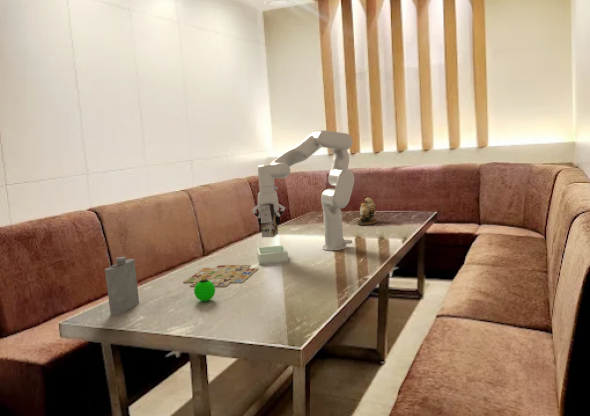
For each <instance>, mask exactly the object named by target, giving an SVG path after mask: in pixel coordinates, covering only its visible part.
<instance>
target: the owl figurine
mask: <svg viewBox="0 0 590 416" xmlns="http://www.w3.org/2000/svg"><path fill="white" fill-rule="evenodd" d="M359 212H360V213H359V214H360V216H359V220H358V222H357V226H360V227H369V226H373V225H376V224H378V220H377V219H376V218H374V217H375V212H376V203H375V202H374V200H373V199H372V198H370V197H366V198H365V199H364V202H363V203H360V207H359Z"/></svg>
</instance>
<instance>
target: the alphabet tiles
mask: <svg viewBox="0 0 590 416" xmlns="http://www.w3.org/2000/svg"><path fill="white" fill-rule="evenodd" d="M258 269H259V268H258V267H251V265H250V264H218V265H216V266H215V267H203V268H201V269H199V270H198V271H196V273H194V274H192V275H190V277H187V278H186V279H185V280H184V281H183V284H189V287H190V288H194V287H195V285H196V284H197V283H198V282H199V281H200V280H202V279H204V278H205V279H207V280H208V281H211V282H212V283H213V285H214V287H215V288H226V287H228V286H229V285H230V284H243V283H245V281H246V280H248V279H249V278H251V276H253V274H255V272H257V271H258ZM202 275H205V277H203V278H202V277H201V276H202Z"/></svg>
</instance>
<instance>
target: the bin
mask: <svg viewBox="0 0 590 416" xmlns="http://www.w3.org/2000/svg"><path fill="white" fill-rule="evenodd" d="M256 255H257V257H256V258H257V261H258V264H259V266H261V265H270V264H271V265H272V264H280V263H289V254H288V250H287V248H286V247H285V244H280V245H271V246H270V245H269V246H259V247H256Z"/></svg>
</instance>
